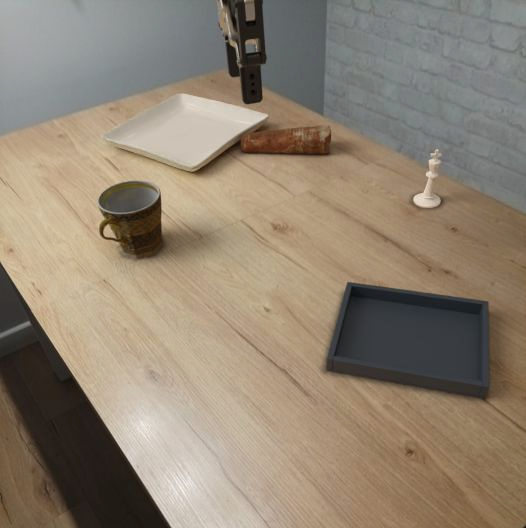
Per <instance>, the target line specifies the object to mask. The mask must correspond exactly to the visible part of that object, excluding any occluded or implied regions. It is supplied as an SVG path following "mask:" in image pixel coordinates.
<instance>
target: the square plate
mask: <svg viewBox="0 0 526 528" xmlns="http://www.w3.org/2000/svg"><path fill="white" fill-rule="evenodd" d="M269 117H270V114H268V113H264V112H261V111H257V110H253V109H250V108H247V107H243V106H239V105H235V104H231V103H227V102H223V101H219V100H215V99H211V98H207V97H201V96H198V95H192V94H187V93H182V92H180V93H177V94H176V93H175V94H174V95H172V96H170V97H168V98H166V99H164V100H162V101H160V102H158V103H157V104H154V105H152V106H150V107H149V108H147V109H145V110H143V111H141V112H139V113H137V114H136V115H134V116H132V117H130V118H129V119H126V120H125V121H123V122H122V123H120V124H118V125H117V126H115V127H113V128H110V130H108V131H106V132H104V133H102V134H101V135H100V136H99V138H100V140H102V141H104V142H105V143H107V144H109V145H111V146H113V147H116V148H119V149H122V150H124V151H128V152H131V153H135V154H138V155H139V156H144V157H146V158H149V159H152V160H155V161H158V162H160V163H162V164H165V165H168V166H171V167H174V168H177V169H180V170H182V171H187V172H192V173H193V172H196V171H199V170H200V169H201V168H203V167H204V166H206V165H208V164H209V163H210V162H211V161H213V160H214V159H215V158H217V157H218V156H220V155H221V154H222V153H224V152H225V151H227V150H228V149H230V148H231V147H232V146H233V145H235V144H237V143H239V142H241V139H242V137H243V135H244V134H246V133H254V132H256V131H257V130H258V129H259V128H261V127H262V126H263V125H264V124H265V123H266V122H267V120H269Z"/></svg>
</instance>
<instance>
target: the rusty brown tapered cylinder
mask: <svg viewBox="0 0 526 528" xmlns="http://www.w3.org/2000/svg"><path fill="white" fill-rule="evenodd" d="M331 140H332V130H331V126H330V125H311V126H299V127H298V126H297V127H287V128H286V127H285V128H280V129H279V128H278V129H269V130H262V131H254V132H252V133H246V134H244V135H243V137H242V139H241V140H240V148H241V149H240V150H242V151H243V153H247V154H248V153H249V154H250V153H251V154H255V153H256V154H297V155H298V154H301V155H302V154H303V155H323V154H327V153H328V152H329V146H330V144H331V142H332V141H331Z"/></svg>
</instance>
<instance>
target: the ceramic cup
mask: <svg viewBox="0 0 526 528" xmlns="http://www.w3.org/2000/svg"><path fill="white" fill-rule="evenodd" d="M96 204H97V207H98V209H99V212H100V213H101V215H102V217H103V218H104V219H102V220H101V222H100V224H99V226H98V233H99V236H100V237H101V238H102V239H103V240H107V241H113V242H116V243H118V244H119V246H120V248H121V250H122V252H123V254H124V256H125V257H126V256H127V257H129V258H133V259H137V260H138V259H143V258H147V257H152V256H154V255H155V254H156V253H158V251H160V249H161V248H162V247H163V230H162V229H163V227H162V216H163V215H162V211H163V210H162V193H161V190H160V188H159V186H157V185H156V184H155V183H153V182H150V181H147V180H142V179H141V180H140V179H138V180H137V179H135V180H127V181H122V182H118V183H115V184H113V185H110V186H109V187H107V188H106V189H104V190H103V191H102V192H101V193H100V194H99V195H98V197H97V199H96ZM107 226H108V227H109V229H110V230H111V231H112V234H113V235H114V236H115V237H110V236H109V237H108V236H105V233H104V232H105V231H104V230H105V228H106V227H107Z"/></svg>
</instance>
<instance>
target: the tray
mask: <svg viewBox="0 0 526 528" xmlns="http://www.w3.org/2000/svg"><path fill="white" fill-rule="evenodd" d="M489 308H490V307H489V300H482V299H476V298H475V299H474V298H468V297H461V296H460V297H459V296H452V295H448V294H447V295H445V294H438V293H432V292H425V291H418V290H417V291H416V290H409V289H402V288H396V287H395V288H394V287H388V286H381V285H374V284H366V283H359V282H352V281H347V282H346V286H345V290H344V293H343V297H342V300H341V305H340V308H339V311H338V315H337V319H336V323H335V326H334V331H333V334H332V338H331V341H330V345H329V349H328V352H327V356H326V366H325V371H326V372H330V373H336V374H339V375H340V374H341V375H347V376H352V377H357V378H363V379H369V380H373V381H380V382H386V383H392V384H395V385H396V384H397V385H402V386H409V387H413V388H419V389H425V390H430V391H436V392H441V393H445V394H453V395H457V396H464V397H469V398H475V399H481V400H485V398H486V396H487V394H488V391H489V389H490V319H489V318H490V314H489V313H490V309H489Z"/></svg>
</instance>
